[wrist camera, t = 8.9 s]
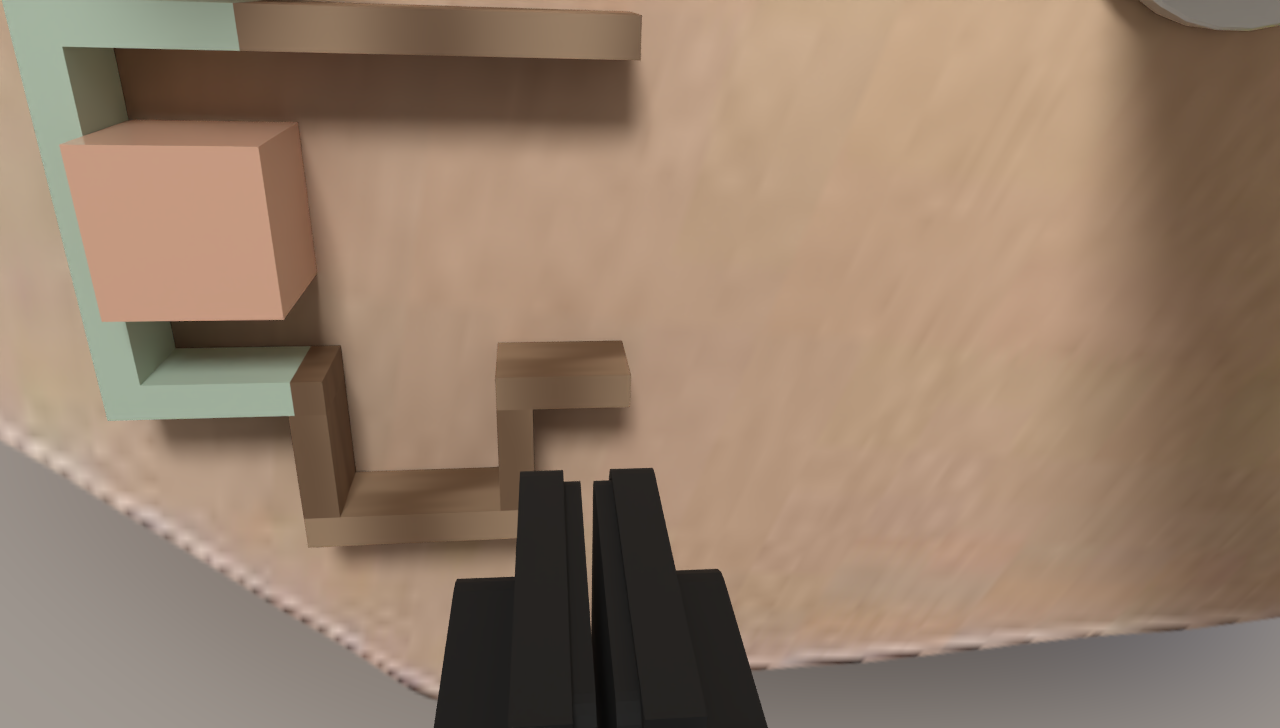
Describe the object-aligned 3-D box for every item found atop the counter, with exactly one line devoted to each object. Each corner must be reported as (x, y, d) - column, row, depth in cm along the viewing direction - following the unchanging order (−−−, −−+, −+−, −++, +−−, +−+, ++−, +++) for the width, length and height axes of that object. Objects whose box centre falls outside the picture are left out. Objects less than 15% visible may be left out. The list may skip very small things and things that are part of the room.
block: (298, 121, 27) (258, 146, 23) (317, 272, 29) (283, 319, 25) (130, 118, 26) (59, 144, 22) (162, 273, 29) (101, 321, 24)
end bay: (263, 0, 25) (232, 3, 23) (315, 376, 30) (294, 415, 28) (58, -7, 25) (0, -5, 22) (145, 380, 30) (107, 420, 27)
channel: (630, 11, 27) (641, 15, 24) (617, 489, 34) (626, 533, 31) (256, 0, 25) (224, 2, 23) (326, 500, 33) (308, 547, 30)
